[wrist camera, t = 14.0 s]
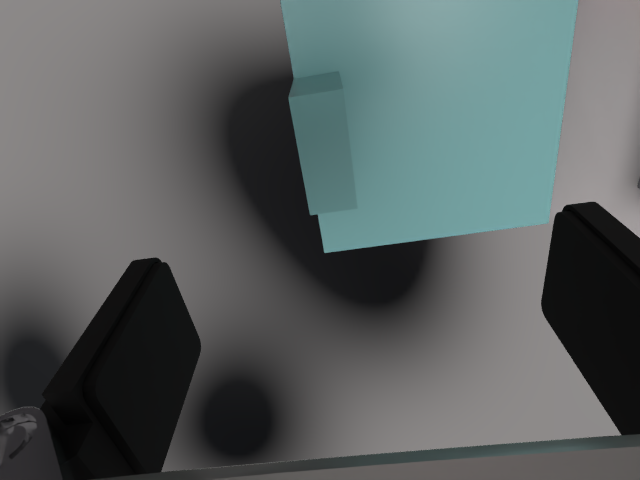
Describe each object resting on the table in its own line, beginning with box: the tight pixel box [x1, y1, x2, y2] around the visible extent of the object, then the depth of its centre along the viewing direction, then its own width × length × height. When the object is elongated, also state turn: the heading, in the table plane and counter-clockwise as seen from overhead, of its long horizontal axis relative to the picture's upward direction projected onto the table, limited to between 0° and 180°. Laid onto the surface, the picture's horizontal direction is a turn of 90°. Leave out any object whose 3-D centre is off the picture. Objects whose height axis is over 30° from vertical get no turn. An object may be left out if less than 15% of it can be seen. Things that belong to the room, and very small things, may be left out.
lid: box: [280, 0, 578, 253], centre depth 23 cm, size 17×15×8 cm
